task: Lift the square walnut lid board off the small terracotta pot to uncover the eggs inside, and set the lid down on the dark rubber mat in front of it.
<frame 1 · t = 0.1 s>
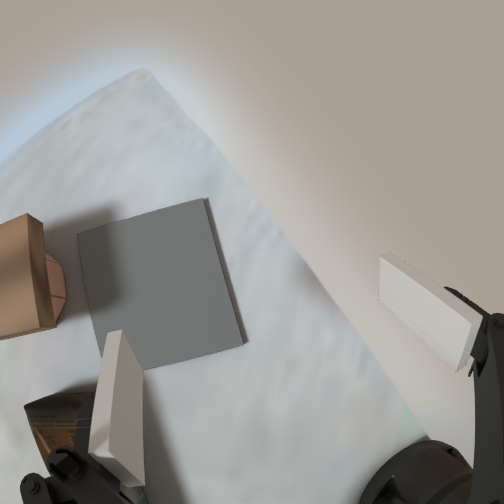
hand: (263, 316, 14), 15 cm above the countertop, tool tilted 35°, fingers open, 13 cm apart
pot: (34, 291, 28), on the countertop
mat: (153, 288, 29), on the countertop
lid: (10, 285, 23), point 5 cm above the countertop, touching pot
beverage carton: (105, 468, 24), on the countertop
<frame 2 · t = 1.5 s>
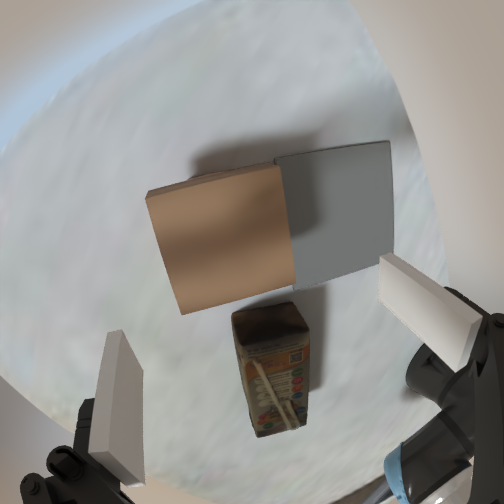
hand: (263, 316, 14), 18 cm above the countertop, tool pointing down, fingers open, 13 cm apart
mat: (342, 214, 34), on the countertop
lid: (221, 232, 26), point 5 cm above the countertop, touching pot
beverage carton: (266, 361, 40), on the countertop
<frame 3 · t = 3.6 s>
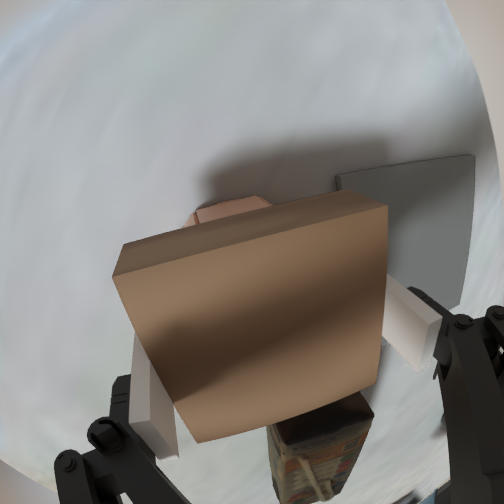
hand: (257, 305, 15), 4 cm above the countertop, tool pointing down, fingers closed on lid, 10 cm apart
pot: (239, 269, 19), on the countertop
mat: (415, 254, 22), on the countertop
lid: (260, 312, 15), point 5 cm above the countertop, touching gripper, pot
beverage carton: (300, 431, 29), on the countertop
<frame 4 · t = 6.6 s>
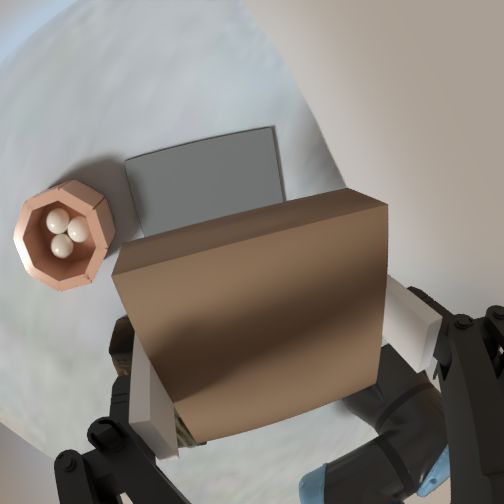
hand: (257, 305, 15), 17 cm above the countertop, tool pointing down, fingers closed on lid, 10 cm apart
pot: (72, 225, 27), on the countertop
mat: (213, 216, 30), on the countertop
lid: (260, 311, 15), point 17 cm above the countertop, touching gripper
beverage carton: (163, 373, 36), on the countertop
when the fingers open (2 cm above the countertop, at t = 10.0 s): lid drops 2 cm, resting on mat.
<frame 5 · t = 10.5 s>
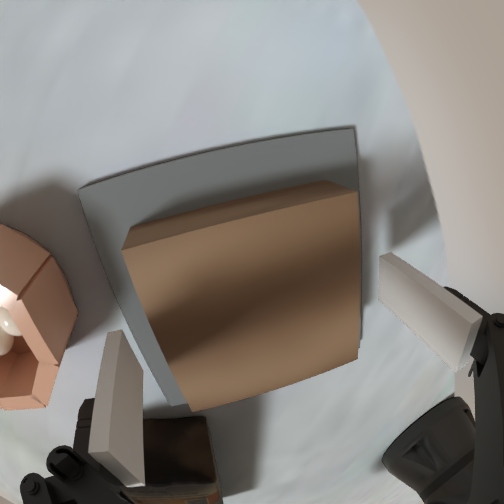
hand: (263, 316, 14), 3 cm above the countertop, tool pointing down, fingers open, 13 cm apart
pot: (11, 298, 14), on the countertop
mat: (247, 285, 17), on the countertop
lid: (249, 289, 17), point 1 cm above the countertop, touching mat
beverage carton: (175, 467, 24), on the countertop
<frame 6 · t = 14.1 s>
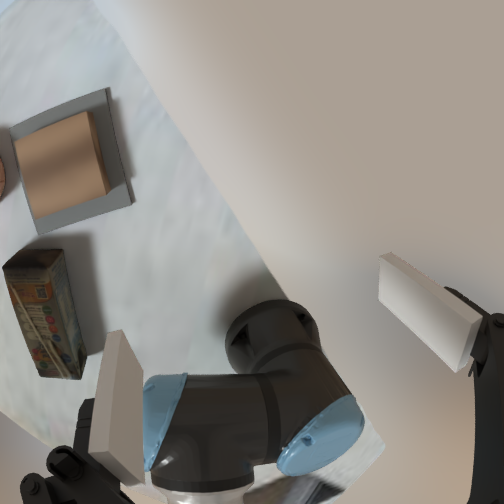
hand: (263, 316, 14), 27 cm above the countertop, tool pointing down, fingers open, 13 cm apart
mat: (66, 163, 32), on the countertop
lid: (65, 163, 32), point 1 cm above the countertop, touching mat
beverage carton: (53, 306, 39), on the countertop
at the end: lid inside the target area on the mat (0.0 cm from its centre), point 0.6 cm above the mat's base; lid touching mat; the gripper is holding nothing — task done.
